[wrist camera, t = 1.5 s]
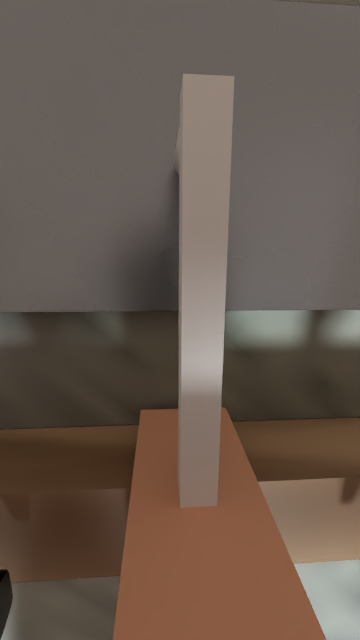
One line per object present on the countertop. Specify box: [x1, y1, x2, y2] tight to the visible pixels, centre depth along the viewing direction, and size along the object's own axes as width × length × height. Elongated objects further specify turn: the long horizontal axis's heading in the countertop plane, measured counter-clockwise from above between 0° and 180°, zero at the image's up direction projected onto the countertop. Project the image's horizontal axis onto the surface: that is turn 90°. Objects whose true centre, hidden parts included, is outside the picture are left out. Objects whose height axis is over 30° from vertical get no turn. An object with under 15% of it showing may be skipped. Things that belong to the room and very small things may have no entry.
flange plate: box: [0, 0, 360, 312], centre depth 9 cm, size 8×20×1 cm, turn 90°
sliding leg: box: [113, 74, 326, 640], centre depth 7 cm, size 13×3×7 cm, turn 0°
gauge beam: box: [0, 417, 360, 583], centre depth 7 cm, size 13×20×6 cm, turn 90°
